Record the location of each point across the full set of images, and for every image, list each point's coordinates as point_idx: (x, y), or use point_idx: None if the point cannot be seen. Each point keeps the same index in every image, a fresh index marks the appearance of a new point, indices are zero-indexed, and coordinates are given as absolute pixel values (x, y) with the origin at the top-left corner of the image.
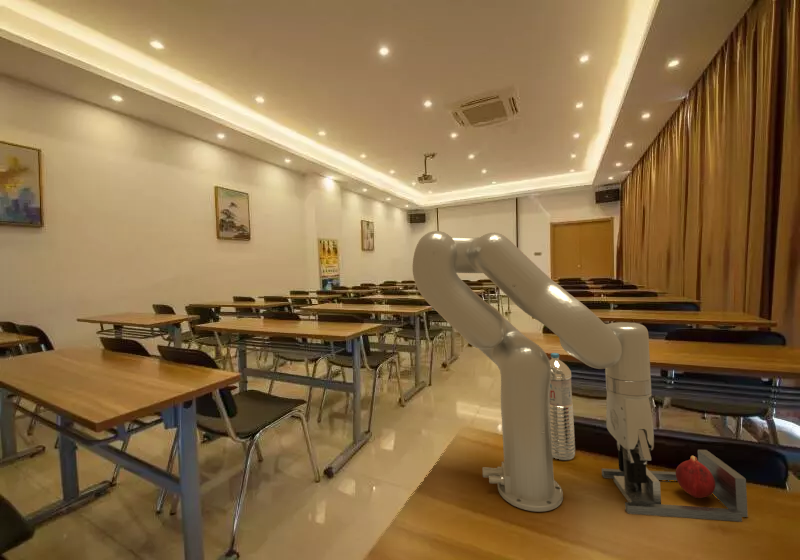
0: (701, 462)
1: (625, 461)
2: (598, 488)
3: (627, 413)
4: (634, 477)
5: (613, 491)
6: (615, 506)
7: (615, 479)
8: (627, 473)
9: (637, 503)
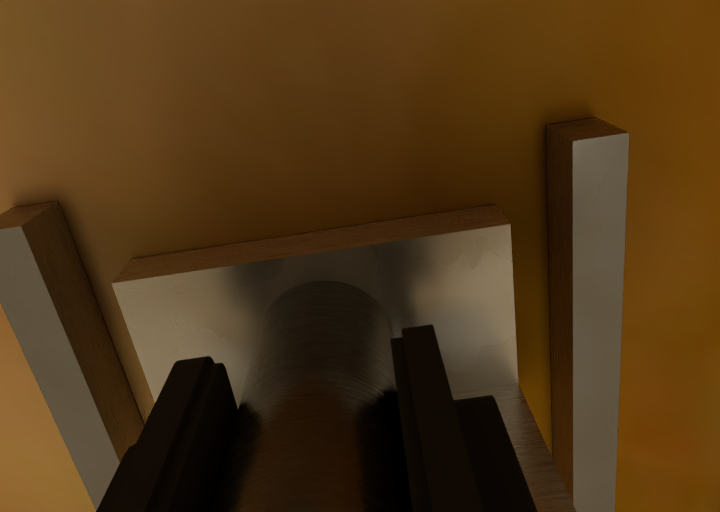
0: None
1: (246, 509)
2: (336, 28)
3: None
4: (126, 455)
5: (322, 164)
6: (77, 129)
7: (456, 227)
8: (161, 412)
9: (52, 320)
